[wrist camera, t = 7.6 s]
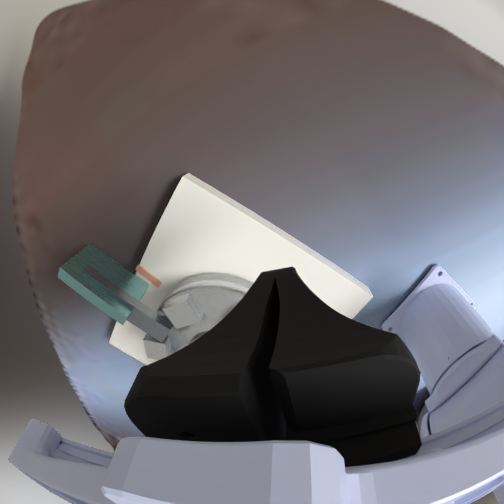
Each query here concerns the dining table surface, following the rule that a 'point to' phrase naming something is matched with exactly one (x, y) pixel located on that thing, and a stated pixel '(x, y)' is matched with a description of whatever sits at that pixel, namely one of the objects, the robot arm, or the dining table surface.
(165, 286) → the base plate
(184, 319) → the teal elongated tool
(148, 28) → the dining table surface
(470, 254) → the dining table surface
